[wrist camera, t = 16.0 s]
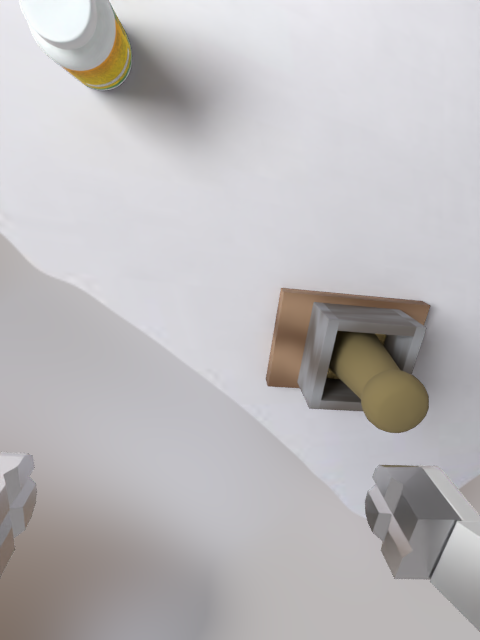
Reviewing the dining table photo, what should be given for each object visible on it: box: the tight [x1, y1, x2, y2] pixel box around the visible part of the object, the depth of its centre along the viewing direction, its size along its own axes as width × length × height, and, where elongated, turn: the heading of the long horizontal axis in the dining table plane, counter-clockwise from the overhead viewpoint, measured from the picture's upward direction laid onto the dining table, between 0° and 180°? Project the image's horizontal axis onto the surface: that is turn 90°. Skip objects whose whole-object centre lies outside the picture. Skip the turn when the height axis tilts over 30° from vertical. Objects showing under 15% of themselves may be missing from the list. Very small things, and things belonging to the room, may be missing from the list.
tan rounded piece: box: [329, 331, 429, 433], centre depth 33 cm, size 6×6×11 cm
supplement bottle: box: [19, 0, 132, 90], centre depth 25 cm, size 5×5×10 cm
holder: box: [266, 288, 430, 411], centre depth 38 cm, size 11×16×6 cm
